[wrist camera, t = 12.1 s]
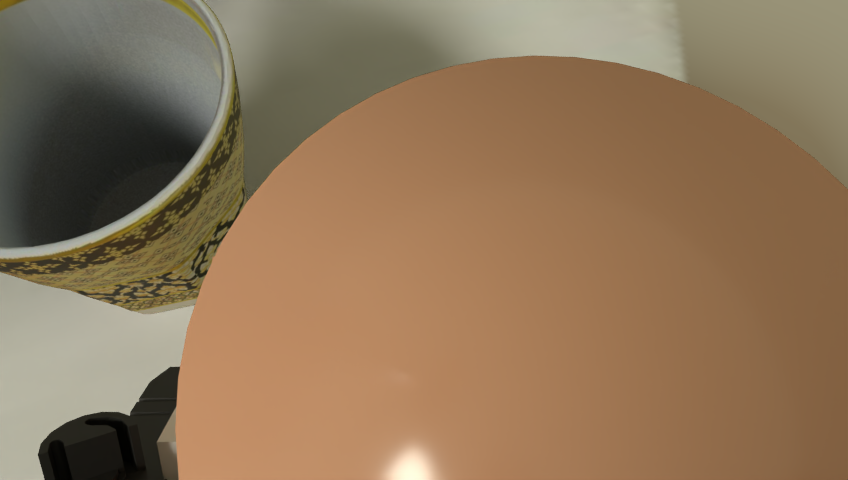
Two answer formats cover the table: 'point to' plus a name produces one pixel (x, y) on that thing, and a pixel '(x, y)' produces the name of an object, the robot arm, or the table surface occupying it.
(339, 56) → the table surface
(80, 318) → the table surface
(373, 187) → the peach domed post
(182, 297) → the ceramic cup
